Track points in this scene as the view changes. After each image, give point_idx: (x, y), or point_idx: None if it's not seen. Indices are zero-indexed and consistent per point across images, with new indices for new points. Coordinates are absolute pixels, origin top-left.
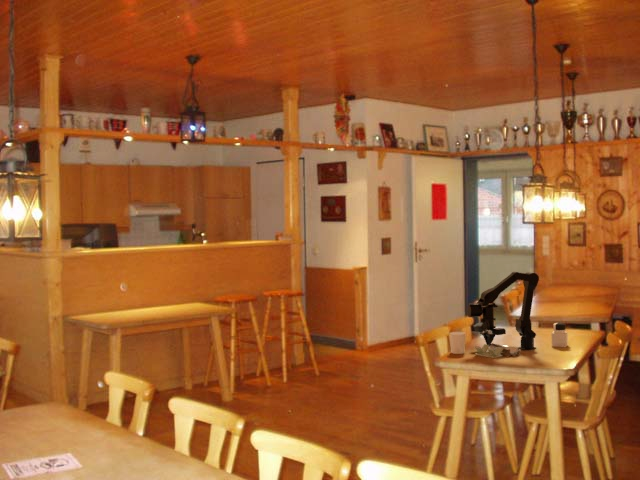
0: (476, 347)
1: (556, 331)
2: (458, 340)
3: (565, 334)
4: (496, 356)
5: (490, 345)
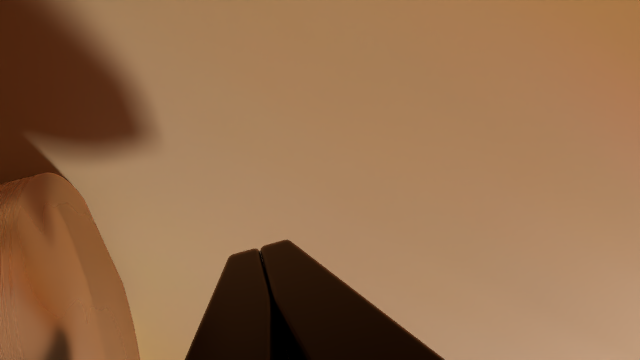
0: None
1: None
2: None
3: None
4: None
5: (4, 299)
